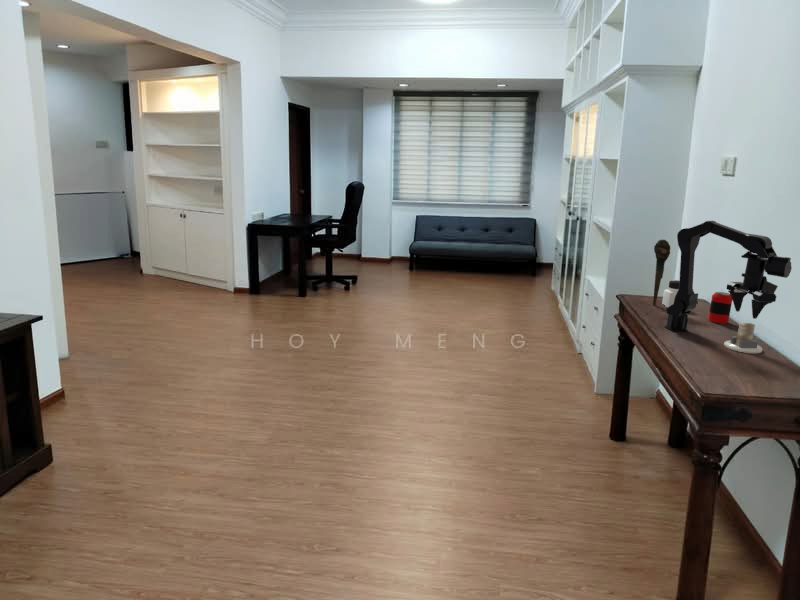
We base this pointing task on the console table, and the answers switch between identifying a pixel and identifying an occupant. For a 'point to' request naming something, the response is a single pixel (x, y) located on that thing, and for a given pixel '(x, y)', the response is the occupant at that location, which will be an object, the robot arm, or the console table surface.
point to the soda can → (720, 308)
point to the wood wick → (745, 332)
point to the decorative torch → (660, 264)
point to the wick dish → (743, 346)
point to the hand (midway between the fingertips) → (745, 314)
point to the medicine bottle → (670, 293)
